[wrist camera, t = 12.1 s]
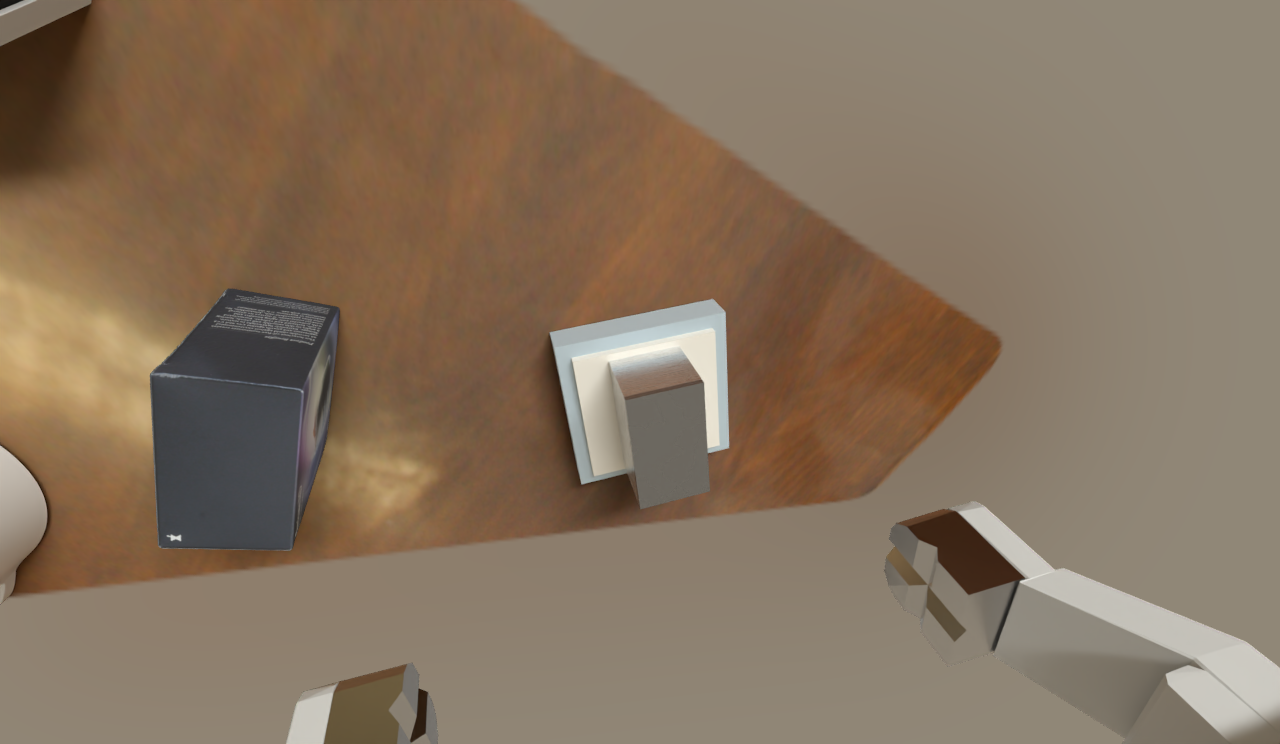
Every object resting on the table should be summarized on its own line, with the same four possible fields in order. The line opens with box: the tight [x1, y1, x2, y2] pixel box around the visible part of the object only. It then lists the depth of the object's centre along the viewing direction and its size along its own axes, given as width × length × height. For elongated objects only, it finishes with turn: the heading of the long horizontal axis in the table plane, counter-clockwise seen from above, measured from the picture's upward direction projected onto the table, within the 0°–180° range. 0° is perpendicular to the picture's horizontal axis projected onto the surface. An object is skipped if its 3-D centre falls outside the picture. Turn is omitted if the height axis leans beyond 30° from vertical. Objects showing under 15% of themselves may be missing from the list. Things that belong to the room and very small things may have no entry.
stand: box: [550, 299, 729, 484], centre depth 44 cm, size 12×12×3 cm
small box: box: [150, 289, 340, 551], centre depth 33 cm, size 11×6×10 cm, turn 163°
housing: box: [609, 346, 710, 509], centre depth 40 cm, size 9×5×5 cm, turn 6°
